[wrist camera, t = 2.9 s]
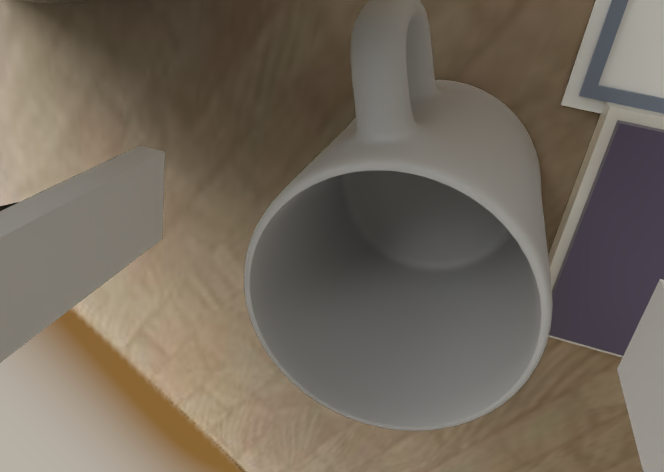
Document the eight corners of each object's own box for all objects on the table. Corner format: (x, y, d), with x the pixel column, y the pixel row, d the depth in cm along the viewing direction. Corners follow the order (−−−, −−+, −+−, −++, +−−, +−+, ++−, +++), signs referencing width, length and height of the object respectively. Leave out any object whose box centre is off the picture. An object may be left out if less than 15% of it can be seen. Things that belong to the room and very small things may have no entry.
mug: (541, 266, 26) (556, 448, 16) (352, 268, 28) (269, 425, 19) (536, -34, 21) (555, -30, 11) (312, 1, 24) (174, 28, 14)
